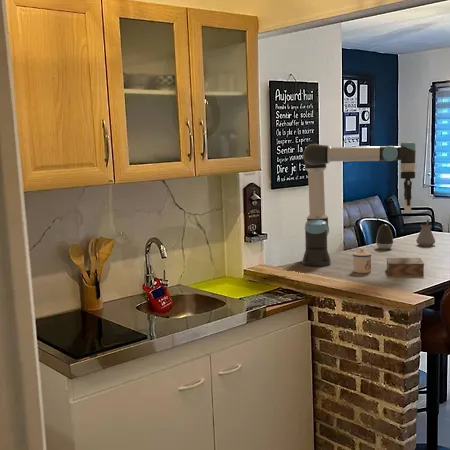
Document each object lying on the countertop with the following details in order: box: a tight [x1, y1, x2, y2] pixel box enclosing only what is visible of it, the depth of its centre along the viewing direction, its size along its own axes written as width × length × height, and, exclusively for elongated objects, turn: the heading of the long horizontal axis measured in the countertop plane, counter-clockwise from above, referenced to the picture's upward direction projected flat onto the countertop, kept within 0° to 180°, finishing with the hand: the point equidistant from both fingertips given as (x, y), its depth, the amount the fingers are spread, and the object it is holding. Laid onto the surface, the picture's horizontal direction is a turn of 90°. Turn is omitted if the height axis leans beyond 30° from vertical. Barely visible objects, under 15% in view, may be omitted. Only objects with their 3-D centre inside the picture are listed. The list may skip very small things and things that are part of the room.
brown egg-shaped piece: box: [375, 223, 394, 250], centre depth 361 cm, size 10×10×15 cm
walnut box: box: [385, 257, 425, 277], centre depth 289 cm, size 16×16×6 cm
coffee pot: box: [415, 219, 436, 247], centre depth 373 cm, size 21×12×15 cm, turn 156°
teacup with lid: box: [352, 248, 372, 274], centre depth 294 cm, size 12×9×12 cm
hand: (407, 210), depth 316 cm, fingers open, 13 cm apart
